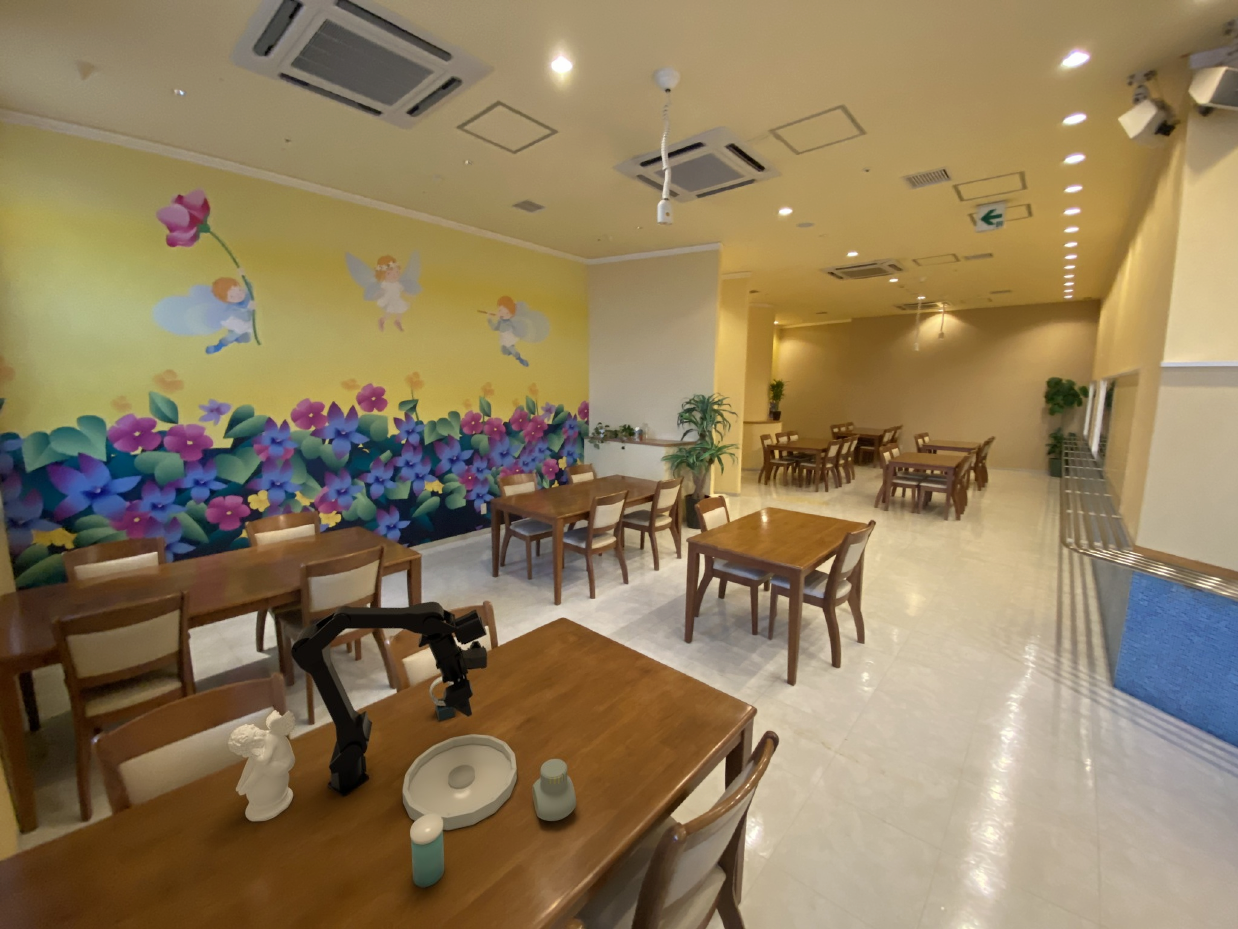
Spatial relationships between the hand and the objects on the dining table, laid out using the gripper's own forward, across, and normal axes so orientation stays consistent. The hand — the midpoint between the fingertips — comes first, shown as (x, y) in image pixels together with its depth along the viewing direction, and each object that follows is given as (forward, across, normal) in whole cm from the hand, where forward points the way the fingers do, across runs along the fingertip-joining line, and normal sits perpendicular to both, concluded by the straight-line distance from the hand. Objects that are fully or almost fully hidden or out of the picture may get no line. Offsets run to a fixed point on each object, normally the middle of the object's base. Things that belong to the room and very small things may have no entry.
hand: (468, 704), depth 123 cm
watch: (+12, +19, +10) cm, 25 cm away
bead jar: (+10, -30, +13) cm, 34 cm away
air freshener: (+19, -23, -11) cm, 31 cm away
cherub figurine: (0, 0, +45) cm, 45 cm away
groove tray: (+13, -9, +7) cm, 17 cm away
